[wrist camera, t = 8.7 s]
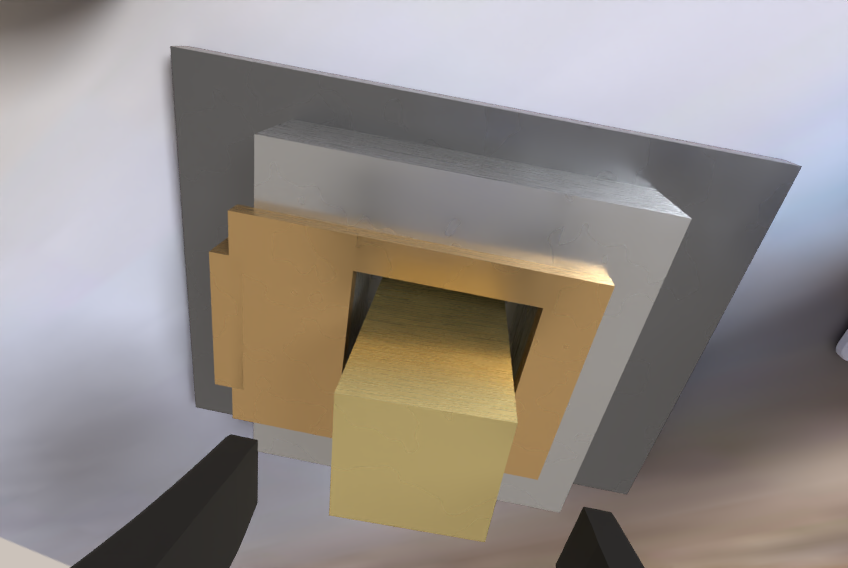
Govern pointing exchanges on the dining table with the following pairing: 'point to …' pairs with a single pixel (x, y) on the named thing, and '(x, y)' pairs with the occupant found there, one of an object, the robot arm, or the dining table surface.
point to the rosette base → (454, 254)
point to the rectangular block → (424, 412)
